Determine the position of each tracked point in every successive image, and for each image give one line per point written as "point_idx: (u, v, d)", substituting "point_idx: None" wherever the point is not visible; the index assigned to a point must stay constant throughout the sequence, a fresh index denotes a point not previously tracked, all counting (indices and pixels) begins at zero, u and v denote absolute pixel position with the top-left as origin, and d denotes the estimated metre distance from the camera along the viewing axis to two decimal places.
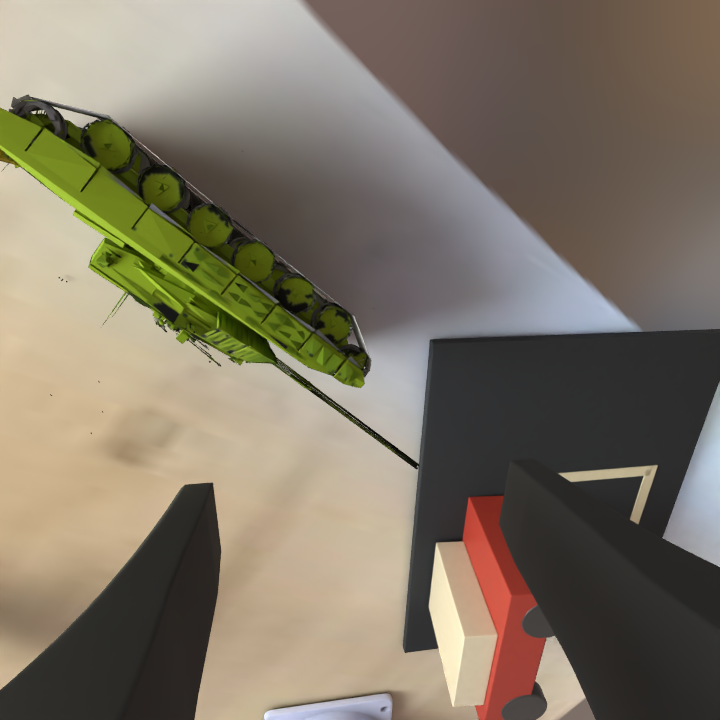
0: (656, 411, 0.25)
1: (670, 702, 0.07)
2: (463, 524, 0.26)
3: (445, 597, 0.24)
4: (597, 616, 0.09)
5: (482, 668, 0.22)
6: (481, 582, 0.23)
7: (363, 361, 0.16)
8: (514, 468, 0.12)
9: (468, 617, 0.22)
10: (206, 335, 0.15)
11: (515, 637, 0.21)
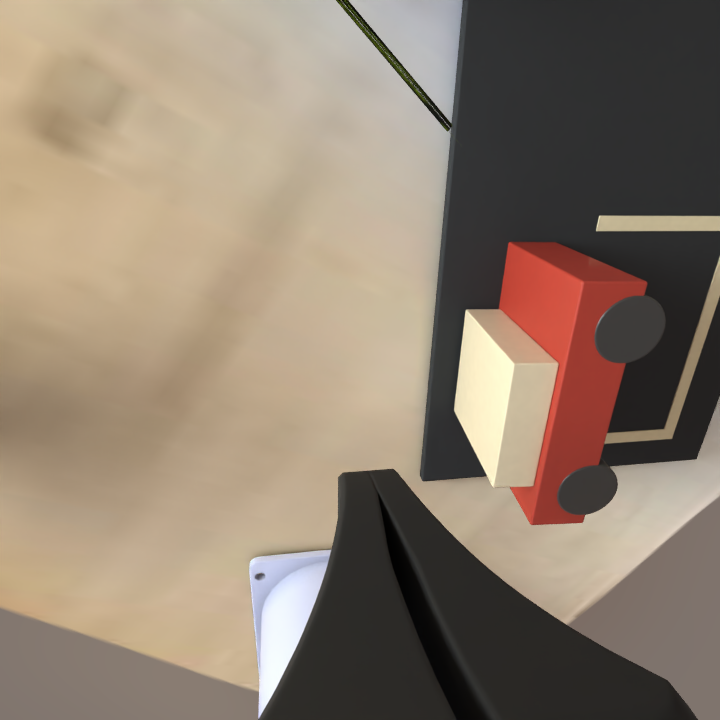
0: None
1: None
2: (500, 287, 0.20)
3: (481, 357, 0.18)
4: None
5: (535, 421, 0.16)
6: (530, 325, 0.17)
7: None
8: (370, 479, 0.11)
9: (516, 352, 0.16)
10: None
11: (584, 360, 0.15)
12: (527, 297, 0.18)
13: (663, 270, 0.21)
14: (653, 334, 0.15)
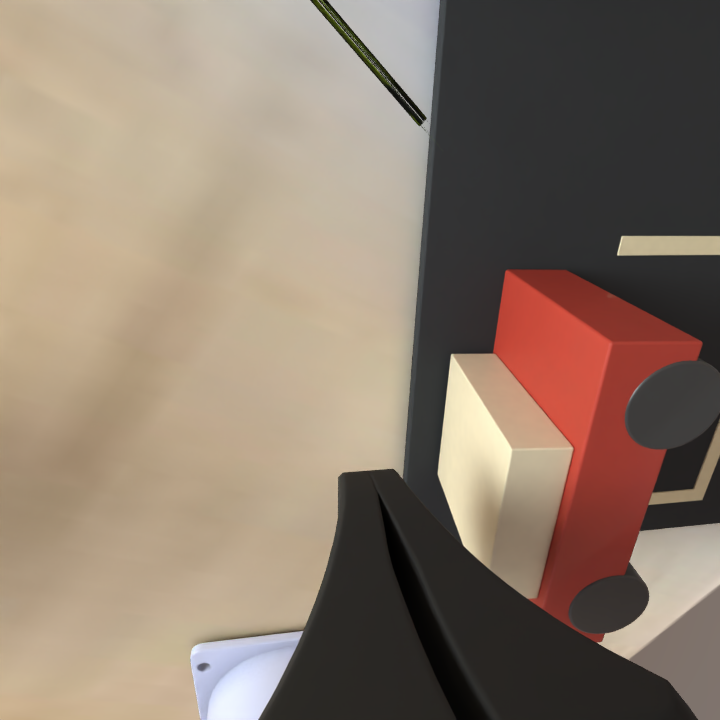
0: None
1: None
2: (495, 325, 0.16)
3: (468, 422, 0.14)
4: None
5: (540, 521, 0.12)
6: (534, 384, 0.13)
7: None
8: (370, 479, 0.11)
9: (515, 427, 0.12)
10: None
11: (610, 446, 0.11)
12: (530, 346, 0.13)
13: (699, 303, 0.17)
14: (708, 412, 0.11)
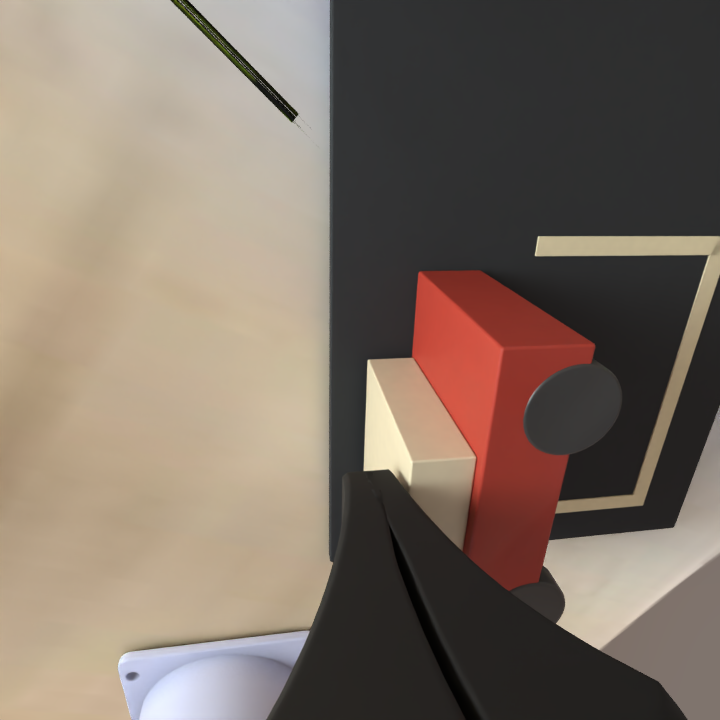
0: None
1: None
2: (411, 328, 0.16)
3: (381, 431, 0.13)
4: None
5: (449, 533, 0.11)
6: (444, 390, 0.13)
7: None
8: (365, 480, 0.11)
9: (419, 437, 0.11)
10: None
11: (511, 454, 0.10)
12: (439, 350, 0.13)
13: (625, 305, 0.16)
14: (606, 415, 0.10)
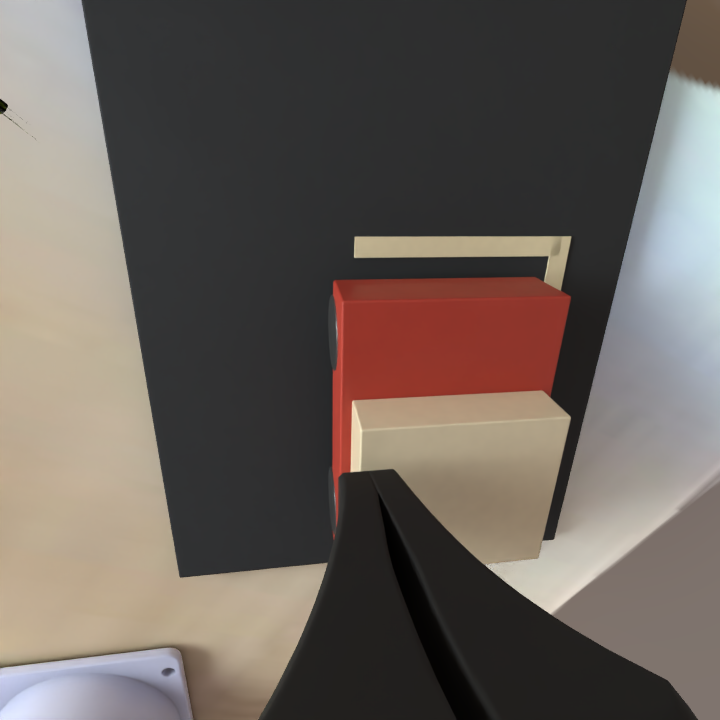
0: (558, 112, 0.14)
1: None
2: (228, 333, 0.15)
3: (458, 459, 0.12)
4: None
5: None
6: (460, 382, 0.13)
7: None
8: (370, 479, 0.11)
9: (530, 410, 0.13)
10: None
11: None
12: (440, 354, 0.13)
13: None
14: None
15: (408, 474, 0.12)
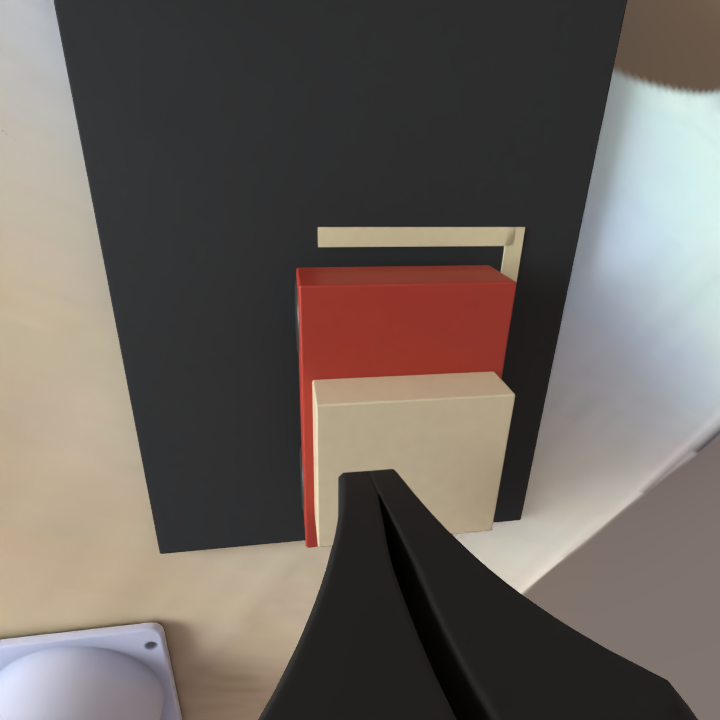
0: (508, 109, 0.14)
1: None
2: (200, 319, 0.16)
3: (410, 434, 0.13)
4: None
5: None
6: (414, 363, 0.14)
7: None
8: (370, 479, 0.11)
9: (478, 388, 0.14)
10: None
11: None
12: (394, 336, 0.14)
13: None
14: None
15: (363, 448, 0.13)
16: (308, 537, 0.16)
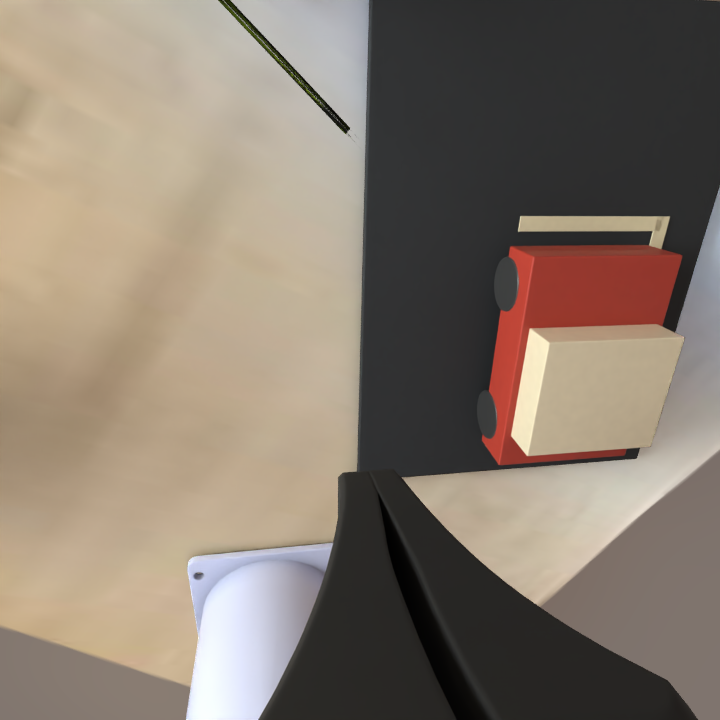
0: (668, 127, 0.19)
1: None
2: (424, 287, 0.20)
3: (608, 366, 0.18)
4: None
5: None
6: (602, 317, 0.19)
7: None
8: (370, 479, 0.11)
9: (655, 333, 0.18)
10: None
11: None
12: (591, 296, 0.18)
13: None
14: None
15: (574, 376, 0.18)
16: (501, 456, 0.21)
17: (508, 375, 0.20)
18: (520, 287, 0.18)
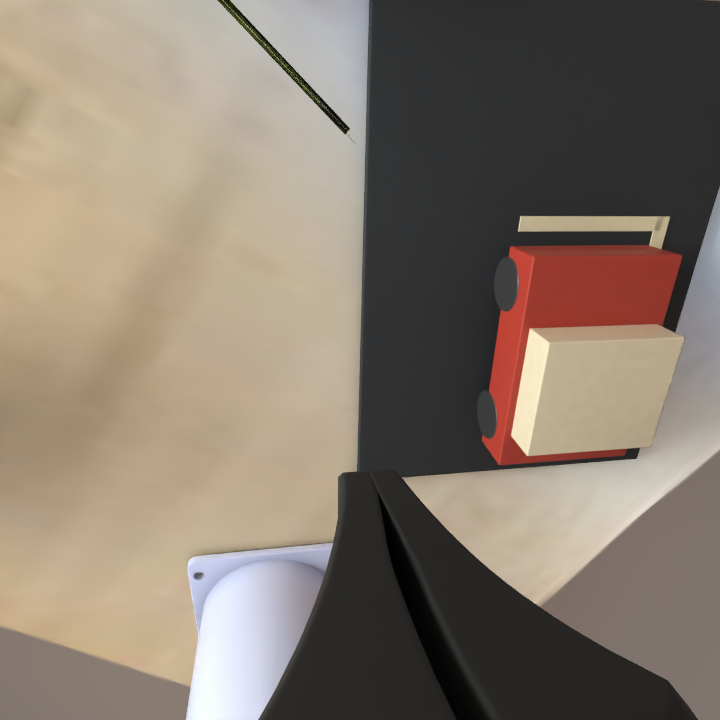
0: (668, 127, 0.19)
1: None
2: (424, 287, 0.20)
3: (608, 366, 0.18)
4: None
5: None
6: (602, 317, 0.19)
7: None
8: (370, 479, 0.11)
9: (655, 333, 0.18)
10: None
11: None
12: (591, 296, 0.18)
13: None
14: None
15: (574, 376, 0.18)
16: (501, 456, 0.21)
17: (508, 375, 0.20)
18: (520, 287, 0.18)
